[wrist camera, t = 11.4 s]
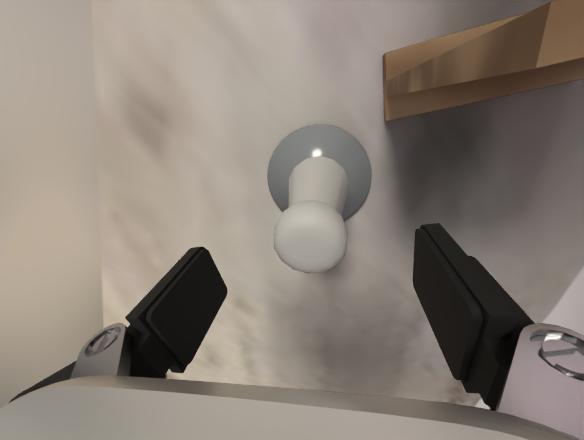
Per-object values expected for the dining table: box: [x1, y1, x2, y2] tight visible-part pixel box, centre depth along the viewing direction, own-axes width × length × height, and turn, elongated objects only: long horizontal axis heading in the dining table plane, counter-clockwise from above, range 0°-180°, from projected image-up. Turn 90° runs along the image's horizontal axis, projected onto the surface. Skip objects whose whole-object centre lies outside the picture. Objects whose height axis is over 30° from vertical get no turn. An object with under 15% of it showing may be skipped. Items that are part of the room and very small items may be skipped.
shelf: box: [383, 0, 584, 121], centre depth 10 cm, size 5×14×16 cm, turn 102°
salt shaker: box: [274, 156, 349, 273], centre depth 17 cm, size 6×6×13 cm
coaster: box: [267, 125, 371, 220], centre depth 23 cm, size 11×11×1 cm
